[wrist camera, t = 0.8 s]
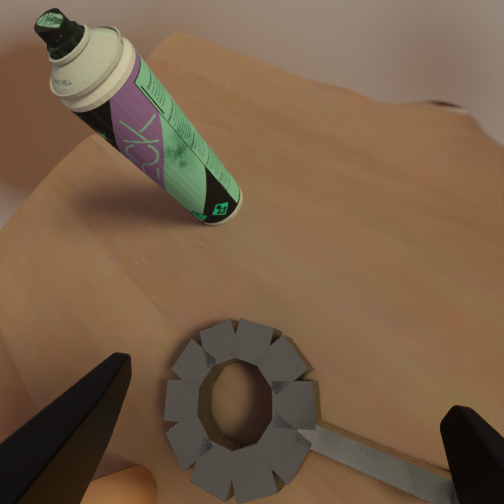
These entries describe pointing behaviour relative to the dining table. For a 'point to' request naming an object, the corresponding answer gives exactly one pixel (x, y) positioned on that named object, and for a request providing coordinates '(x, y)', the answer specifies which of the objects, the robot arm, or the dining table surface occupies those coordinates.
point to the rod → (123, 488)
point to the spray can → (136, 115)
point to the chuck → (273, 423)
